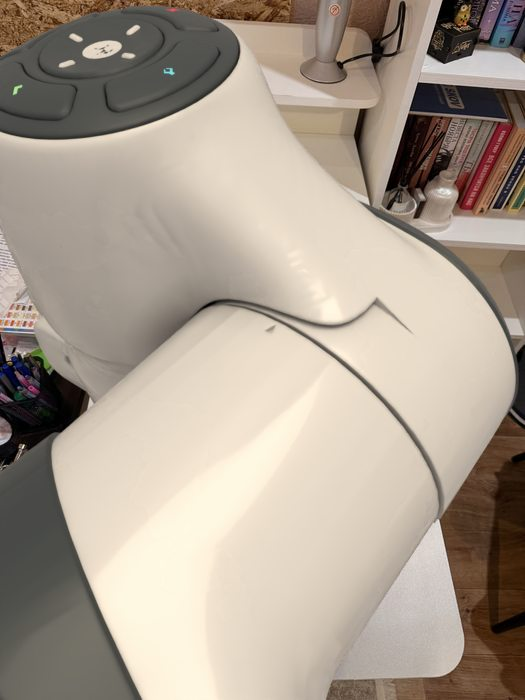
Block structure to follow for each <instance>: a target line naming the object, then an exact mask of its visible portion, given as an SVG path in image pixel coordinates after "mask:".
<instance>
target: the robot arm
mask: <svg viewBox="0 0 525 700" xmlns="http://www.w3.org/2000/svg"><path fill="white" fill-rule="evenodd" d="M285 119H286V118H285V117H284V116H283V114H282V112H281V110H280V108H279V106H278V104H277V102H276V100H275V97H274V96H273V94H272V91H271V89H270V86H269V84H268V81H267V79H266V76H265V74H264V72H263V70H262V67H261V65H260V62H259V61H258V58H257V57H256V56H255V54H254V52H253V50H252V49H251V47H250V46H249V45H248V43H247V42H246V41H245V40H244V39H243V38H242V37H241V36H240V35H239V34H237V32H235V31H234V30H233V29H232V28H230V27H229V26H227V25H226V24H224V23H222V22H221V21H219V20H216V19H214V18H212V17H209V16H206V15H203V14H200V13H197V12H196V11H191V10H189V9H186V8H180V7H176V6H174V7H173V6H165V5H131V6H126V7H124V8H118V9H117V8H116V9H109V10H105V11H101V12H98V11H93V12H91V13H88V14H85V15H82V16H79V17H77V18H74V19H72V20H69V21H67V22H65V23H62V24H60V25H57V26H55V27H53V28H51V29H49V30H46V31H44V32H42V33H40V34H38V35H36V36H35V37H32V38H31V39H29V40H27V41H25V42H23V43H22V44H20V45H17V46H16V47H14V48H11V50H9V51H7V52H5V54H3V55H1V56H0V232H1V235H2V237H3V239H4V242H5V244H6V246H7V249H8V252H9V253H10V255H11V257H12V260H13V261H14V264H15V266H16V268H17V270H18V272H19V274H20V277H21V278H22V281H23V282H24V284H25V286H26V288H27V295H28V298H29V300H30V301H31V304H32V305H33V307H34V308H35V310H36V311H37V313H39V315H40V317H39V318H38V319H37V320H36V321H35V322H34V324H33V333H34V336H35V338H36V339H35V340H36V341H37V343H38V345H39V348H40V350H41V352H42V353H43V356H44V357H45V359H46V361H47V362H48V364H49V366H50V367H51V368H52V369H53V370H54V371H55V372H56V373H57V374H59V376H61V377H62V378H64V379H65V380H67V381H68V382H70V383H72V384H74V385H75V386H77V387H78V388H80V390H83V391H85V392H86V393H87V395H88V396H89V399H91V401H92V403H93V404H92V405H91V406H90V407H88V409H86V410H85V411H83V413H82V414H81V415H80V416H79V417H77V418H76V419H75V420H74V421H73V422H72V423H71V424H69V426H67V427H66V428H65V429H64V430H63V431H62V432H56V431H55V432H53V433H50V434H49V435H48V436H47V437H45V438H44V439H43V440H41V441H40V442H39V443H37V444H35V445H34V446H33V447H32V448H30V449H29V450H27V451H26V452H25V453H23V454H22V455H21V456H20V457H18V458H17V459H15V460H14V461H13V462H11V463H10V464H9V465H7V466H6V467H5V468H3V469H2V470H1V471H0V700H327V697H328V694H329V691H330V688H331V684H332V682H333V680H334V678H335V676H336V674H337V672H338V670H339V669H340V666H341V665H342V663H343V662H344V660H345V658H346V657H347V655H348V654H349V652H350V650H351V649H352V648H353V646H354V645H355V643H356V641H358V638H359V637H360V635H361V634H362V633H363V631H364V629H365V628H366V626H367V624H368V623H369V622H370V620H371V619H372V617H373V616H374V613H376V611H377V609H378V608H379V606H380V605H381V603H382V602H383V600H384V599H385V597H386V595H387V594H388V592H389V591H390V590H391V588H392V586H393V585H394V584H395V582H396V580H397V579H398V578H399V576H400V575H401V573H402V571H403V570H404V568H405V567H406V565H407V563H408V562H409V560H410V559H411V557H412V556H413V554H414V553H415V551H416V550H417V548H418V547H419V545H420V544H421V542H422V540H424V537H425V536H426V534H427V532H429V530H430V529H431V527H432V526H433V524H436V522H437V521H440V520H441V519H442V517H443V515H444V514H445V513H446V511H447V509H448V508H449V506H450V505H451V503H453V502H452V501H453V500H454V499H455V497H456V496H457V494H458V492H459V491H460V489H461V487H462V486H463V484H464V482H465V481H466V480H467V478H468V476H469V475H470V473H471V472H472V470H473V468H474V466H475V465H476V463H477V462H478V460H479V459H480V457H481V456H482V454H483V452H484V451H485V450H486V448H487V446H488V445H489V443H490V442H491V440H492V439H493V437H494V436H495V433H496V432H497V431H498V429H499V427H500V425H501V423H502V422H503V420H504V419H505V417H506V416H507V415H508V414H509V413H510V411H511V409H512V408H513V406H514V403H515V401H516V399H517V395H518V391H519V383H520V382H519V381H520V379H519V378H520V374H519V363H518V358H517V353H516V350H515V349H516V348H515V346H514V341H513V338H512V335H511V332H510V329H509V327H508V325H507V322H506V320H505V318H504V316H503V314H502V312H501V310H500V307H499V305H498V304H497V302H496V300H495V299H494V297H493V296H492V294H491V292H490V291H489V289H488V288H487V286H486V285H485V284H484V283H483V282H482V280H481V278H480V277H479V276H478V275H477V274H476V273H475V272H474V271H473V270H472V269H471V267H469V266H468V265H467V264H466V263H465V261H463V260H462V259H461V258H460V257H459V256H458V255H457V254H456V253H454V252H453V251H452V250H450V249H449V248H448V247H446V246H445V245H444V244H442V243H441V242H439V241H438V240H437V239H435V238H433V237H432V236H430V235H428V234H427V233H426V232H424V231H422V230H420V229H419V228H417V227H415V226H413V225H411V224H409V223H408V222H406V221H404V220H402V219H400V218H398V217H396V216H394V215H392V214H390V213H387V212H386V211H383V210H381V209H380V208H377V207H374V206H372V205H370V204H368V203H365V202H363V201H361V200H359V199H357V198H356V197H355V196H354V195H353V194H351V193H350V191H349V190H348V189H346V188H345V187H344V186H343V185H342V184H341V183H340V182H339V181H338V180H337V179H335V178H334V176H332V174H330V172H328V171H327V169H325V168H324V167H323V166H322V165H321V164H320V163H319V162H318V160H316V158H314V157H313V155H312V154H311V153H310V152H309V151H308V150H307V148H306V147H305V146H304V145H303V144H302V143H301V141H300V140H299V139H298V138H297V136H296V135H295V133H294V132H293V130H292V129H291V127H290V126H289V124H288V123H287V122H286V120H285Z"/></svg>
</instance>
